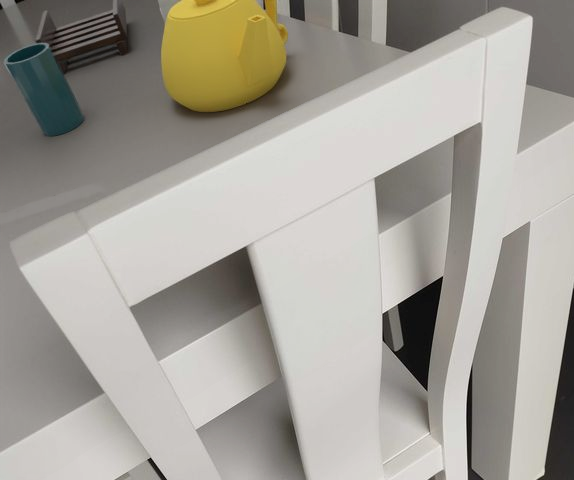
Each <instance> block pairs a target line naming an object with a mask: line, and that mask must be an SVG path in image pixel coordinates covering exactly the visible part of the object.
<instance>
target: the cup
mask: <svg viewBox="0 0 574 480" xmlns="http://www.w3.org/2000/svg"><path fill="white" fill-rule="evenodd" d="M3 65H4V66H5V68H6V70H7V72H8V73H9V75H10V77H11V78H12V80H13V82H14V84H15V86H16V87H17V89H18V91H19V93H20V95H21V96H22V98H23V100H24V102H25V104H26V106H27V107H28V109H29V111H30V113H31V114H32V116H33V118H34V120H35V122H36V123H37V125H38V127H39V129H40V130H41V132H42V133H43V135H44V136H47V137H55V136H60V135H64V134H66V133H68V132H70V131H72V130H74V129H76V128H77V127H79V126H80V125H81V124H82V123H83V122H84V120H85V115H84V113H83V110H82V109H81V106H80V104H79V102H78V100H77V99H76V95H75V94H74V93H73V89H72V88H71V86H70V84H69V82H68V80H67V78H66V76H65V74H63V72H62V70H61V68H60V66H59V64H58V62H57V60H56V58H55V56H54V54H53V51H52V49H51V47H50V45H49V44H47V43H33V44H29V45H26V46H24V47H21V48H20V49H17V50H15V51H12V53H10V54H9V55H7V56H6V57H5V58H4V60H3Z"/></svg>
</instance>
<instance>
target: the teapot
mask: <svg viewBox="0 0 574 480" xmlns="http://www.w3.org/2000/svg"><path fill="white" fill-rule="evenodd" d="M264 4H265V5H264V6H265V10H264V9H263V8H262V7H261V6H260V5H259V3H258V2H257V1H256V0H182V1H180V2H178V3H177V4H175V5H174V6H173V7H172V8H171V9H170V11H169V13H168V16H167V20H166V23H164V30H163V37H162V40H161V41H162V42H161V51H160V63H161V75H162V79H163V83H164V87H165V89H166V92H167V94H168V95H169V96H170V97H171V98H172V100H174V101H175V102H177V103H179V104H180V105H182V106H183V107H185V108H188V109H189V110H190V111H193V112H198V113H215V112H216V113H217V112H222V111H227V110H232V109H235V108H238V107H241V106H244V105H247V104H249V103H251V102H253V101H255V100H257V99H259V98H261V97H262V96H264V95H265V94H267V93H269V91H271V90H272V89H273V88H274V87H275V86H276V85H277V84H278V81H279V80H280V78H281V76H282V74H283V71H284V69H285V67H286V64H287V50H286V47H285V45H286V44H287V42H288V40H289V31H288V29H287V27H286V26H285V25H284V24H283V23H278V6H277V5H278V4H277V0H264ZM246 103H247V104H246Z"/></svg>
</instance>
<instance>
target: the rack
mask: <svg viewBox="0 0 574 480" xmlns="http://www.w3.org/2000/svg"><path fill="white" fill-rule="evenodd" d="M127 26H128V25H127V12H126V8H125V5H124V3H123V0H112V9H110V10H107V11H104V12H101V13H98V14H94V15H92V16H88V17H86V18H82V19H80V20H77V21H74V22H71V23H68V24H65V25H61V26H59V27H56V25H55V23H54V21H53V18H52V16H51V14H50V12H49V10H48V9H46V10H44V11H43V12H42V14H41V19H40V23H39V26H38V30H37V32H36V36H35V44H37V43H47V44H49V45H50V47H51V49H52V51H53V54H54V56H55V58H56V60H57V62H58V64H59V66H60V68H61V70H62V72H63V74H64V75H65V74H66V72H67V67H68V59H69V58H72V57H74V56H75V57H76V56H77V55H80V54H84V53H86V52H89V51H92V50H96V49H99V48H102V47H105V46H108V45H111V44H114V43H115V45H116V47H117V49H118V52H119V54H120V56H123V55H127V54H128V38H129V37H128V27H127Z"/></svg>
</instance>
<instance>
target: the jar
mask: <svg viewBox="0 0 574 480" xmlns="http://www.w3.org/2000/svg"><path fill="white" fill-rule="evenodd" d="M180 1H182V0H157V3H158V5H159V12H160V14H161V17H162V21H163V22H164V24H165V23H166V20H167V16H168V13H169V11H170V9H171V8H172V7H173V6H174V5H175V4H177V3H178V2H180Z"/></svg>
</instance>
